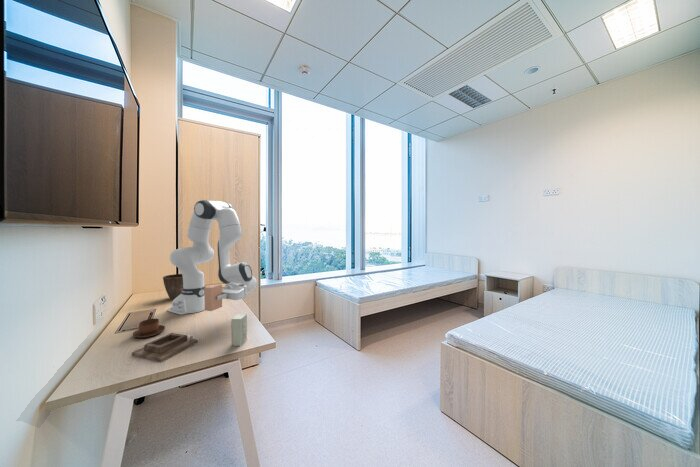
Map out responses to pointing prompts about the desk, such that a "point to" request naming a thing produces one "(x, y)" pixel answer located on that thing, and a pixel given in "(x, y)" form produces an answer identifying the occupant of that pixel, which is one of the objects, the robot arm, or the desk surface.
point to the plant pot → (173, 285)
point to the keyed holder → (165, 347)
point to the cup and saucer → (148, 328)
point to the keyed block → (212, 297)
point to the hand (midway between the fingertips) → (211, 297)
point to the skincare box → (238, 329)
